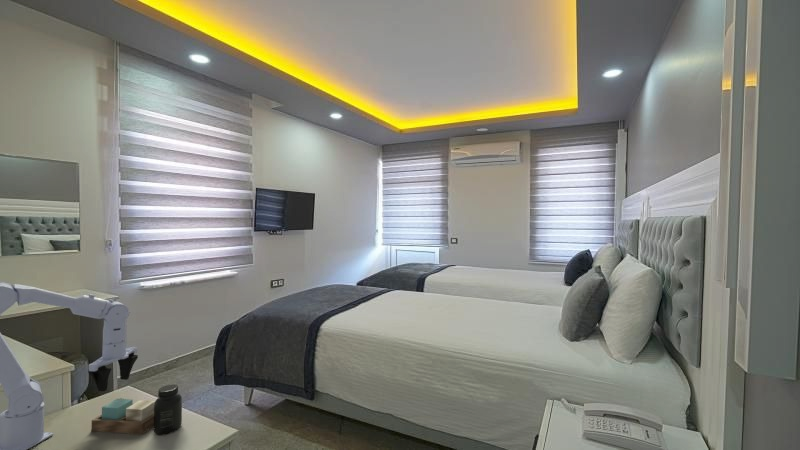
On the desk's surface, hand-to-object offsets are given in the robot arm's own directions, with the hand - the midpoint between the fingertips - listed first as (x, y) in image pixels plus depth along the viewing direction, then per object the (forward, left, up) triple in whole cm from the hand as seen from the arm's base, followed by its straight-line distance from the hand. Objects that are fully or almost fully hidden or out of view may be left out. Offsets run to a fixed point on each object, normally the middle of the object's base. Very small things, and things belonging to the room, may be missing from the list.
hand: (113, 384), depth 106 cm
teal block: (+5, -4, -8) cm, 11 cm away
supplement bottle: (+22, -5, -10) cm, 25 cm away
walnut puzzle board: (+9, -4, -9) cm, 14 cm away
